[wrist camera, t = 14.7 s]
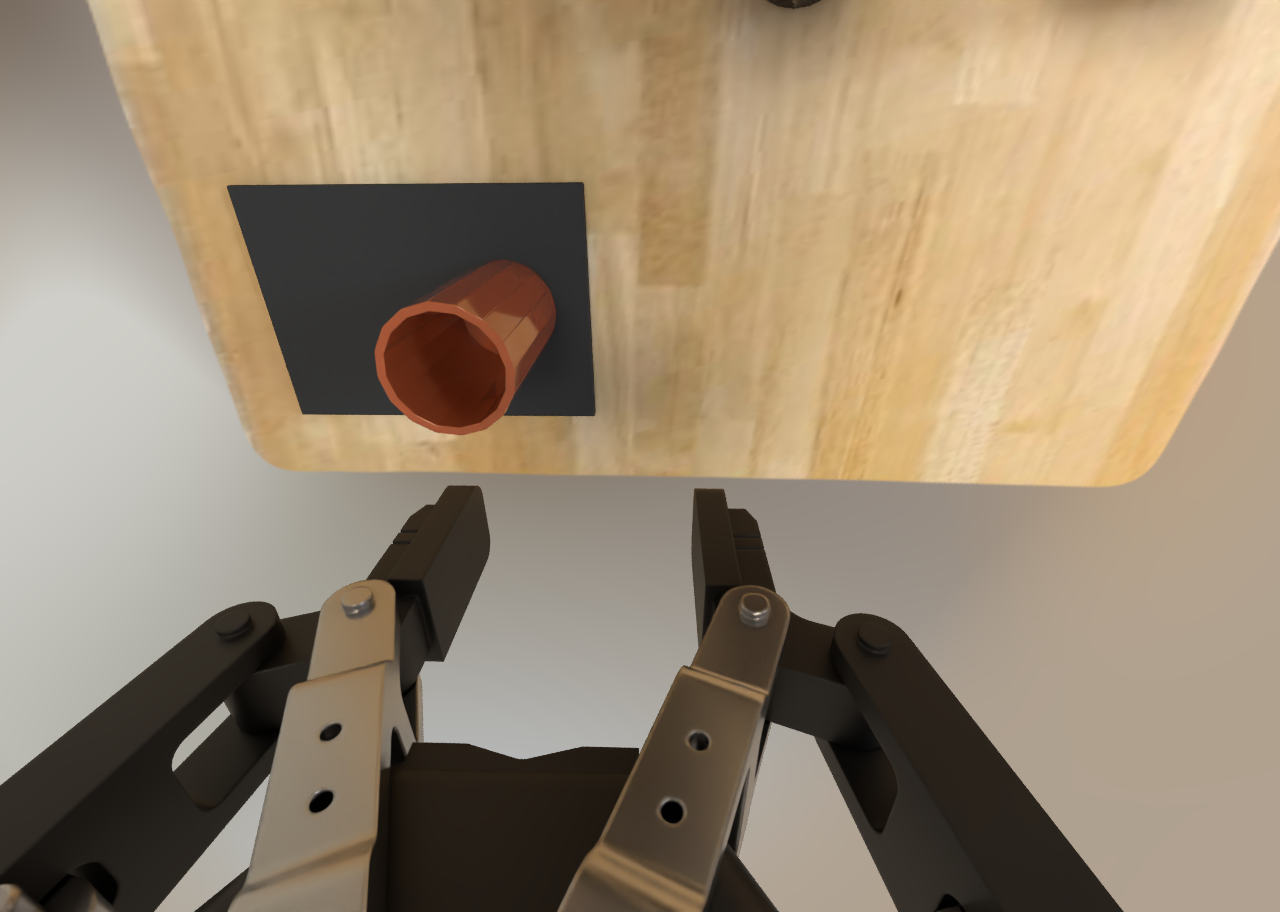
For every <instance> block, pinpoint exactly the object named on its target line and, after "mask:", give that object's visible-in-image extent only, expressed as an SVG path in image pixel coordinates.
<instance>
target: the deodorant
mask: <svg viewBox="0 0 1280 912" xmlns="http://www.w3.org/2000/svg"><path fill="white" fill-rule="evenodd" d="M768 1H769V2H771V3H773V4H775V5H777V6H781V7H787V8H793V9H794V8H800V7H806V6H810V5H812V4H814V3H816V2H818V1H820V0H768Z"/></svg>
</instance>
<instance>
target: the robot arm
mask: <svg viewBox="0 0 1280 912" xmlns="http://www.w3.org/2000/svg"><path fill="white" fill-rule="evenodd" d="M693 502H694V503H693V523H692V524H693V525H692V570H693V582H694V593H695V594H694V595H695V608H696V621H697V633H698V646H699V649H698V651H697V653H696V655H695V657H694V660H693V662H692V664H691V666H690V667H688V666H685V665H684V666H683V667H681V669H680V670H679V672H678V673H677V675H676V677H675V680H674V682H673V684H672V686H671V688H670V690H669V692H668V694H667V697H666V698H665V701H664V703H663V705H662V707H661V709H660V711H659V713H658V716H657V718H656V720H655V722H654V724H653V726H652V728H651V730H650V732H649V735H648V737H647V739H646V741H645V743H644V745H643V747H642V749H641V752H640V754H639V748H617V747H615V748H614V747H579V748H574V749H570V750H565V751H561V752H556V753H552V754H547V755H543V756H538V757H534V758H529V759H516V758H512V757H509V756H506V755H503V754H499V753H496V752H493V751H490V750H487V749H483V748H480V747H476V746H474V745H470V744H460V743H424V739H423V705H422V704H423V703H422V681H421V678H420V674H419V673H420V671H421V669H422V666H423V664H424V662H425V661H439V662H440V661H441V662H444V660H445V657H446V655H447V653H448V650H449V648H450V646H451V643H452V641H453V639H454V636H455V634H456V632H457V629H458V627H459V625H460V622H461V620H462V618H463V615H464V613H465V611H466V609H467V606H468V604H469V602H470V599H471V597H472V595H473V592H474V590H475V588H476V585H477V582H478V581H479V578H480V576H481V573H482V571H483V569H484V567H485V564H486V562H487V559H488V556H489V551H490V535H489V529H488V523H487V517H486V512H485V505H484V500H483V494H482V491H481V488H480V487H479V486H448V487H447V488H446V489H445V490H444V492H443V493H442V495H441V497H440V498H439V500H438V501H437V503H436V504H435V505H426V506H424V507H423V508H422V509H420V510H419V511H417V512H416V513H415V514H413V515H412V516H410V518H409V519H408V520H407V522H406V523H405V525H404V526H403V528H402V529H401V533H398V535H397V536H396V538H395V539H394V540H393V544H391V545H390V546H389V548H388V549H387V551H386V552H385V553H384V555H383V556H382V558H381V559H380V560H379V562H378V563H377V565H376V566H375V568H374V569H373V570H372V572H371V573H370V575H369V576H368V578H367V579H366V580H363V581H358V582H355V583H352V584H349V585H347V586H345V587H343V588H341V589H339V590H338V591H336V592H335V593H334V594H332V595H331V596H330V597H329V598H328V599H327V600H326V601H325V602H324V604H323V606H322V608H321V611H318V612H313V613H308V614H303V615H299V616H294V617H289V618H284V619H280V618H279V616H278V613H277V611H276V609H275V607H274V606H272V605H271V604H269V603H266V602H247V603H243V604H239V605H236V606H232V607H230V608H228V609H225V610H223V611H221V612H219V613H217V614H216V615H214V616H212V617H211V618H210V619H208V620H207V621H206V622H204V623H203V624H202V625H201V626H200V627H198V628H197V629H196V630H195V631H193V632H192V633H191V634H189V635H188V636H187V637H186V638H184V639H183V640H182V641H181V642H179V643H178V644H177V645H176V646H174V647H173V648H172V649H171V650H169V651H168V652H167V653H166V654H164V655H163V656H162V657H161V658H159V659H158V660H157V661H155V662H154V663H153V664H152V665H151V666H149V667H148V668H147V669H146V670H144V671H143V672H142V673H141V674H139V675H138V676H137V677H136V678H134V679H133V680H132V681H130V682H129V683H128V684H127V685H125V686H124V687H123V688H122V689H120V690H119V691H118V692H117V693H115V694H114V695H113V696H112V697H110V698H109V699H108V700H107V701H106V702H104V703H103V704H102V705H100V706H99V707H98V708H97V709H95V710H94V711H93V712H92V713H90V714H89V715H88V716H87V717H85V718H84V719H83V720H82V721H80V722H79V723H78V724H77V725H75V726H74V727H73V728H72V729H71V730H69V731H68V732H67V733H66V734H64V735H63V736H62V737H60V738H59V739H58V740H57V741H55V742H54V743H53V744H52V745H50V746H49V747H48V748H47V749H45V750H44V751H43V752H42V753H40V754H39V755H38V756H37V757H35V758H34V759H33V760H32V761H30V762H29V763H28V764H27V765H25V766H24V767H23V768H22V769H21V770H19V771H18V772H17V773H15V774H14V775H13V776H12V777H10V778H9V779H8V780H7V781H6V782H4V783H3V784H2V785H0V912H154V911H155V910H156V909H157V907H158V906H159V905H160V904H161V903H162V901H163V900H164V899H165V898H166V897H167V896H168V894H169V893H170V892H171V891H172V889H173V888H174V887H175V886H176V885H177V884H178V882H179V881H180V880H181V879H182V878H183V876H184V875H185V874H186V873H187V871H188V870H189V869H190V868H191V867H192V866H193V865H194V863H195V862H196V861H197V860H198V859H199V857H200V856H201V855H202V854H203V853H204V851H205V850H206V849H207V847H209V845H210V844H211V843H212V842H213V841H214V839H215V838H216V837H217V836H218V835H219V833H220V832H221V831H222V830H223V829H224V828H225V826H226V825H227V824H228V823H229V821H230V820H231V819H232V818H233V817H234V815H235V814H236V813H237V812H238V811H239V810H240V808H241V807H242V806H243V805H244V804H245V802H246V801H247V800H248V799H249V798H250V796H251V795H252V794H253V793H254V792H255V791H256V789H257V788H258V787H259V786H260V785H261V783H262V782H263V781H264V780H265V779H266V777H267V776H268V775H269V774H270V777H269V782H268V786H267V791H266V795H265V800H264V804H263V809H262V813H261V817H260V822H259V826H258V831H257V835H256V840H255V845H254V849H253V853H252V858H251V862H250V866H249V867H248V868H247V869H246V870H245V871H244V872H242V873H241V874H240V875H239V876H237V877H236V878H235V879H234V880H233V881H232V882H230V883H229V884H228V885H226V886H225V887H224V888H223V889H222V890H221V891H219V892H218V893H217V894H215V895H214V896H213V897H212V898H211V899H209V900H208V901H207V902H206V903H204V904H203V905H202V906H201V907H199V908H198V909H197V910H196V911H195V912H779V911H778V910H777V909H776V907H775V906H774V905H773V903H772V902H771V901H770V899H769V898H768V897H767V895H766V894H765V893H764V891H763V890H762V889H761V887H760V886H759V885H758V883H757V882H756V881H755V879H754V878H753V877H752V875H751V874H750V873H749V871H748V870H747V869H746V867H745V866H744V864H743V863H742V862H741V860H740V859H739V858H738V857H739V853H740V849H741V845H742V841H743V837H744V833H745V829H746V825H747V820H748V815H749V811H750V806H751V801H752V797H753V793H754V789H755V785H756V781H757V777H758V773H759V769H760V766H761V762H762V758H763V754H764V751H765V746H766V743H767V739H768V735H769V732H770V728H771V723H772V722H773V723H776V724H779V725H782V726H785V727H788V728H791V729H795V730H797V731H800V732H803V733H806V734H809V735H813V736H814V737H815V739H816V742H817V744H818V746H819V748H820V750H821V752H822V754H823V756H824V758H825V761H826V763H827V765H828V767H829V768H830V771H831V773H832V775H833V777H834V779H835V781H836V783H837V786H838V788H839V790H840V792H841V794H842V796H843V798H844V800H845V802H846V804H847V806H848V808H849V810H850V813H851V814H852V817H853V819H854V821H855V823H856V825H857V827H858V829H859V831H860V833H861V835H862V837H863V840H864V841H865V844H866V846H867V848H868V850H869V852H870V854H871V856H872V858H873V860H874V862H875V864H876V867H877V869H878V871H879V873H880V875H881V877H882V879H883V881H884V883H885V885H886V887H887V889H888V892H889V893H890V896H891V898H892V900H893V902H894V904H895V906H896V908H897V910H898V912H1123V911H1122V909H1121V908H1120V907H1119V905H1118V904H1117V903H1116V902H1115V900H1114V899H1113V898H1112V897H1111V895H1110V894H1109V893H1108V891H1107V890H1106V889H1105V887H1104V886H1103V885H1102V884H1101V882H1100V881H1099V880H1098V878H1097V877H1096V876H1095V875H1094V873H1093V872H1092V871H1091V870H1090V868H1089V867H1088V866H1087V865H1086V863H1085V862H1084V861H1083V859H1082V858H1081V857H1080V856H1079V854H1078V853H1077V852H1076V850H1075V849H1074V848H1073V847H1072V845H1071V844H1070V843H1069V841H1068V840H1067V839H1066V838H1065V836H1064V835H1063V834H1062V832H1061V831H1060V830H1059V829H1058V827H1057V826H1056V825H1055V824H1054V822H1053V821H1052V820H1051V818H1050V817H1049V816H1048V814H1047V813H1046V812H1045V811H1044V809H1043V808H1042V807H1041V806H1040V804H1039V803H1038V802H1037V801H1036V799H1035V798H1034V797H1033V795H1032V794H1031V793H1030V792H1029V790H1028V789H1027V788H1026V786H1025V785H1024V784H1023V782H1022V781H1021V780H1020V779H1019V777H1018V776H1017V775H1016V774H1015V772H1014V771H1013V770H1012V768H1011V767H1010V766H1009V765H1008V763H1007V762H1006V761H1005V759H1004V758H1003V757H1002V756H1001V754H1000V753H999V752H998V751H997V749H996V748H995V747H994V745H993V744H992V743H991V741H990V740H989V739H988V738H987V736H986V735H985V734H984V733H983V731H982V730H981V729H980V727H979V726H978V725H977V724H976V722H975V721H974V720H973V719H972V717H971V716H970V715H969V713H968V712H967V711H966V709H965V708H964V707H963V706H962V704H961V703H960V702H959V701H958V699H957V698H956V697H955V695H954V694H953V693H952V692H951V690H950V689H949V688H948V686H947V685H946V684H945V683H944V681H943V680H942V679H941V678H940V676H939V675H938V674H937V672H936V671H935V670H934V669H933V667H932V666H931V665H930V663H929V662H928V661H927V660H926V658H925V657H924V656H923V654H922V653H921V652H920V651H919V649H918V648H917V647H916V646H915V644H914V643H913V642H912V640H911V639H910V638H909V637H908V635H907V634H905V632H904V631H903V630H902V629H901V628H899V627H898V626H897V625H895V624H894V623H892V622H890V621H888V620H887V619H884V618H881V617H879V616H875V615H871V614H863V613H859V614H851V615H848V616H845V617H843V618H842V619H840V621H838V623H837V624H836V626H835V627H831V626H827V625H823V624H819V623H815V622H812V621H809V620H806V619H803V618H801V617H799V616H797V615H795V614H794V613H792V612H791V611H790V609H789V606H788V605H787V603H786V602H785V601H784V599H783V598H782V597H780V596H779V595H778V594H776V591H775V587H774V584H773V580H772V576H771V572H770V568H769V565H768V561H767V557H766V553H765V550H764V546H763V542H762V539H761V535H760V531H759V528H758V523H757V521H756V520H755V519H754V518H753V517H752V516H751V514H749V512H748V511H747V510H746V509H728V507H727V502H726V497H725V492H724V489H694V501H693ZM222 702H224V703H225V705H226V706H227V708H228V710H229V712H230V713H231V714H230V715H229V716H228V717H227V718H226V719H225V720H224V722H223V723H221V725H219V727H218V728H216V729H215V731H214V732H213V733H212V734H211V735H210V736H209V737H208V738H207V739H206V740H205V741H204V742H203V743H202V744H201V745H200V746H199V747H198V748H197V749H196V750H195V751H194V752H193V753H192V754H191V755H190V756H189V757H188V758H187V759H186V760H185V761H184V762H183V763H182V764H181V765H180V766H179V767H178V768H177V769H176V770H175V771H174V772H173V771H172V759H173V757H174V754H175V752H176V750H177V748H178V747H179V745H180V744H181V743H182V741H183V740H184V739H185V738H186V737H187V736H188V735H189V734H190V733H192V732H193V731H194V730H195V729H196V728H197V727H198V726H199V725H200V724H201V723H202V722H203V721H204V720H205V719H206V718H207V717H208V716H209V715H210V714H211V713H212V712H213V711H214V710H215V709H216V708H217V707H218V706H219V705H220V704H222Z"/></svg>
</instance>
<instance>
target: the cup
mask: <svg viewBox="0 0 1280 912" xmlns="http://www.w3.org/2000/svg"><path fill="white" fill-rule="evenodd" d="M555 324H556V307H555V302H554V298H553V296H552V294H551V291H550V289H549V288H548V286H547V285H546V283H545V282H544V281H543V279H542V278H541V277H540V276H539V275H538V274H537V273H536V272H534V271H533V270H532V269H530V268H529V267H527V266H525V265H523V264H521V263H518V262H515V261H511V260H502V259H499V260H491V261H487V262H485V263H482V264H480V265H477V266H475V267H473V268H471V269H470V270H468V271H466V272H464V273H463V274H461V275H459V276H457V277H456V278H454V279H452V280H450V281H449V282H447V283H445V284H444V285H442V286H440V287H438V288H437V289H435V290H433V291H431V292H430V293H428V294H426V295H425V296H423V297H421V298H419V299H418V300H416V301H414V302H412V303H411V304H409V305H407V306H405V307H404V308H402V309H400V310H399V311H398V312H397V313H396V314H395V315H394V316H393V317H392V318H391V319H390V320H389V321H388V322H387V323H386V324H385V325H384V326H383V327H382V329H381V332H380V335H379V338H378V341H377V345H376V348H375V360H376V368H377V376H378V379H379V381H380V383H381V384H382V386H383V388H384V390H385V392H386V394H387V395H388V397H389V399H390V401H391V402H392V403H393V404H394V405H395V406H396V407H397V408H398V409H399V410H400V411H401V412H403V413H404V414H405V415H406V416H407V417H408V418H409V419H410V420H412V421H413V422H415V423H417V424H419V425H421V426H424V427H426V428H428V429H430V430H432V431H434V432H437V433H446V434H454V435H465V434H469V433H473V432H477V431H481V430H485V429H487V428H488V427H489V426H491V425H492V424H493V423H494V422H496V421H497V420H498V419H499V418H501V417H502V416H503V415H504V414H505V413H506V411H507V409H508V408H509V406H510V404H511V403H512V401H513V399H514V398H515V396H516V395H517V393H518V391H519V390H520V388H521V386H522V385H523V383H524V381H525V380H526V378H527V377H528V375H529V373H530V372H531V370H532V368H533V367H534V365H535V363H536V362H537V360H538V358H539V357H540V355H541V354H542V352H543V350H544V349H545V347H546V345H547V343H548V341H549V339H550V337H551V336H552V333H553V331H554V328H555Z"/></svg>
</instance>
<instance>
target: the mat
mask: <svg viewBox="0 0 1280 912" xmlns="http://www.w3.org/2000/svg"><path fill="white" fill-rule="evenodd" d="M227 189H228V192H229V195H230V198H231V201H232V204H233V207H234V210H235V213H236V216H237V219H238V222H239V225H240V228H241V231H242V234H243V237H244V240H245V243H246V246H247V249H248V252H249V255H250V258H251V261H252V264H253V267H254V270H255V273H256V276H257V279H258V282H259V285H260V288H261V291H262V294H263V297H264V300H265V303H266V306H267V309H268V312H269V315H270V318H271V321H272V324H273V327H274V330H275V333H276V336H277V339H278V342H279V345H280V348H281V351H282V354H283V357H284V360H285V363H286V366H287V369H288V372H289V375H290V378H291V381H292V384H293V387H294V390H295V393H296V396H297V399H298V402H299V405H300V408H301V411H302V414H330V415H405V414H404V413H403V412H401V411H400V410H399V409H398V408H397V407H396V406H395V405H394V404H393V403H392V402H391V401H390V399H389V397H388V395H387V394H386V392H385V390H384V388H383V386H382V384H381V383H380V381H379V379H378V376H377V368H376V360H375V348H376V345H377V341H378V338H379V335H380V332H381V329H382V327H383V326H384V325H385V324H386V323H387V322H388V321H389V320H390V319H391V318H392V317H393V316H394V315H395V314H396V313H397V312H398V311H399V310H400V309H402V308H404V307H405V306H407V305H409V304H411V303H412V302H414V301H416V300H418V299H419V298H421V297H423V296H425V295H426V294H428V293H430V292H431V291H433V290H435V289H437V288H438V287H440V286H442V285H444V284H445V283H447V282H449V281H450V280H452V279H454V278H456V277H457V276H459V275H461V274H463V273H464V272H466V271H468V270H470V269H471V268H473V267H475V266H477V265H480V264H482V263H485V262H487V261H491V260H499V259H502V260H511V261H515V262H518V263H521V264H523V265H525V266H527V267H529V268H530V269H532V270H533V271H534V272H536V273H537V274H538V275H539V276H540V277H541V278H542V279H543V281H544V282H545V283H546V285H547V286H548V288H549V289H550V291H551V294H552V296H553V298H554V302H555V307H556V324H555V328H554V331H553V333H552V336H551V337H550V339H549V341H548V343H547V345H546V347H545V349H544V350H543V352H542V354H541V355H540V357H539V358H538V360H537V362H536V363H535V365H534V367H533V368H532V370H531V372H530V373H529V375H528V377H527V378H526V380H525V381H524V383H523V385H522V386H521V388H520V390H519V391H518V393H517V395H516V396H515V398H514V399H513V401H512V403H511V404H510V406H509V408H508V409H507V411H506V413H505V414H504V415H503V416H595V394H594V375H593V355H592V336H591V317H590V298H589V278H588V259H587V240H586V220H585V201H584V184H583V183H582V182H567V183H445V184H323V185H229V186H227Z"/></svg>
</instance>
